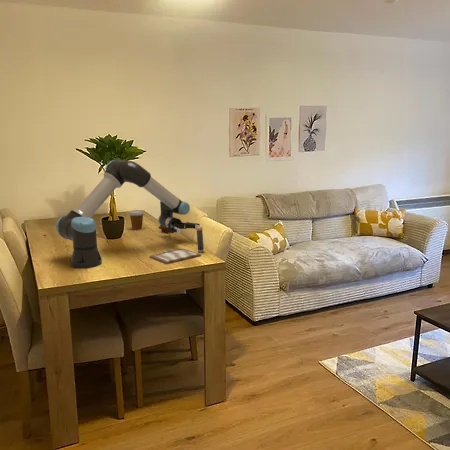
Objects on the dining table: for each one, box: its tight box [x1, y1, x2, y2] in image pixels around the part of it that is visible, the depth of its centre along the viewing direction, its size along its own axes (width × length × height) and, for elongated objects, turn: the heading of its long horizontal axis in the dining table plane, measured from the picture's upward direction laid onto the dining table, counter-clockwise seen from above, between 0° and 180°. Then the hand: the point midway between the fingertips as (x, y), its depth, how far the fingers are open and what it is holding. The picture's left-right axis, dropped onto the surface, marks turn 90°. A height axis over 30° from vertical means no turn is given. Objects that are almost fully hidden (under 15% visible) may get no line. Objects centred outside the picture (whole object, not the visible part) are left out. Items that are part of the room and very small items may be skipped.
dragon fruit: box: [158, 224, 168, 233], centre depth 308 cm, size 8×8×12 cm
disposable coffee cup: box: [129, 209, 144, 231], centre depth 315 cm, size 10×10×12 cm
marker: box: [195, 226, 205, 254], centre depth 259 cm, size 3×3×14 cm
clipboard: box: [149, 248, 202, 265], centre depth 251 cm, size 22×16×2 cm
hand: (190, 230), depth 266 cm, fingers open, 13 cm apart
